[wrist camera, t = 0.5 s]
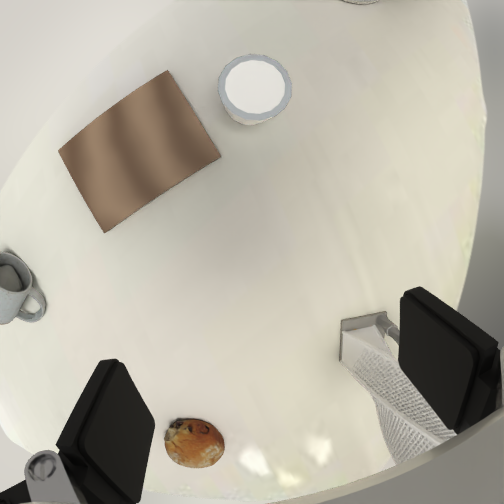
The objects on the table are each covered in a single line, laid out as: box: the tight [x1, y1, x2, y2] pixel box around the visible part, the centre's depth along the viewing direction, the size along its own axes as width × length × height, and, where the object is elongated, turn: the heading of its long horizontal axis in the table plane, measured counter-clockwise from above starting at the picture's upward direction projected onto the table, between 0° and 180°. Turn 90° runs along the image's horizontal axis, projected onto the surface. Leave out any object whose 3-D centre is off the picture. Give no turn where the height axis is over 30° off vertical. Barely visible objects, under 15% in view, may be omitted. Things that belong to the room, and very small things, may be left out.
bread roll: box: [164, 419, 225, 468], centre depth 42 cm, size 10×10×8 cm
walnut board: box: [58, 70, 221, 233], centre depth 31 cm, size 16×12×2 cm
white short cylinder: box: [218, 54, 292, 125], centre depth 28 cm, size 7×7×7 cm
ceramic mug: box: [0, 252, 45, 325], centre depth 31 cm, size 11×8×8 cm
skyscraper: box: [339, 311, 457, 465], centre depth 27 cm, size 8×8×28 cm
